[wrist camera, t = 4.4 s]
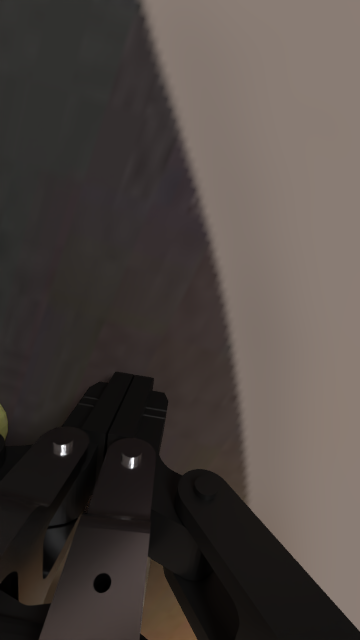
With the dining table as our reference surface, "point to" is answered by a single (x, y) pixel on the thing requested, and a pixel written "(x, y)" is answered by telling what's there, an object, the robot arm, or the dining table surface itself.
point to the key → (3, 423)
